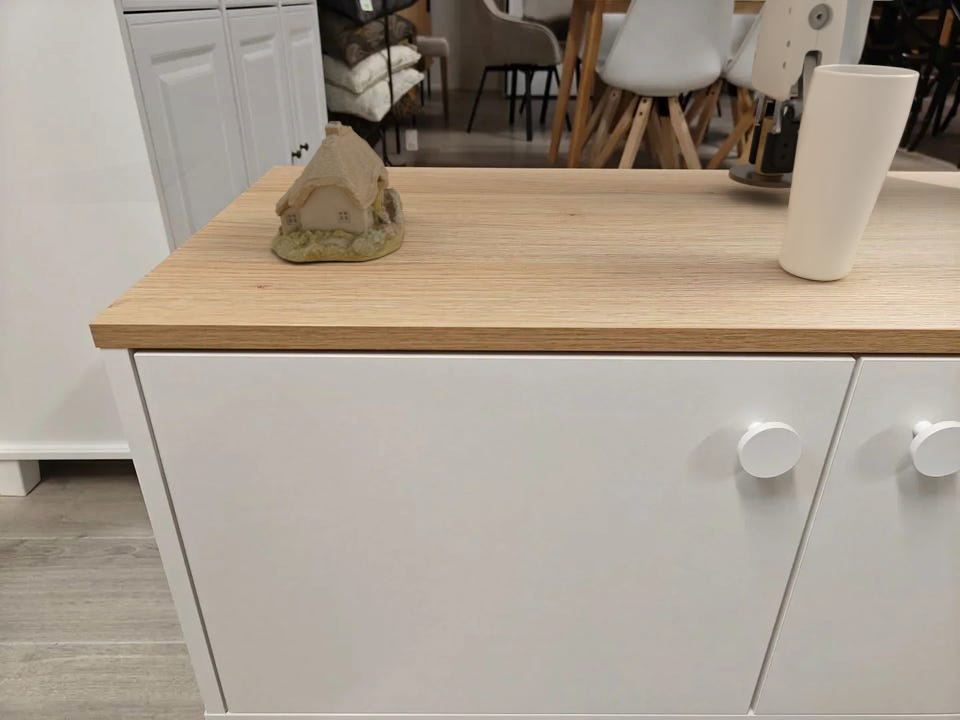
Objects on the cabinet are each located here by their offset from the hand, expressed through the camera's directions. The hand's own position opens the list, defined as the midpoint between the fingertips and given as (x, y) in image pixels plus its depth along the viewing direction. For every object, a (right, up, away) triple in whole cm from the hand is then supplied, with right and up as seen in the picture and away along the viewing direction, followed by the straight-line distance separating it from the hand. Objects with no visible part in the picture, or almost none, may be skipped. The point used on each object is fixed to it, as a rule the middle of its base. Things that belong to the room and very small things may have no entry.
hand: (769, 166), depth 71 cm
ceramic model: (-43, -9, -10) cm, 45 cm away
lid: (0, -1, +1) cm, 1 cm away
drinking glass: (-4, -13, -17) cm, 22 cm away
